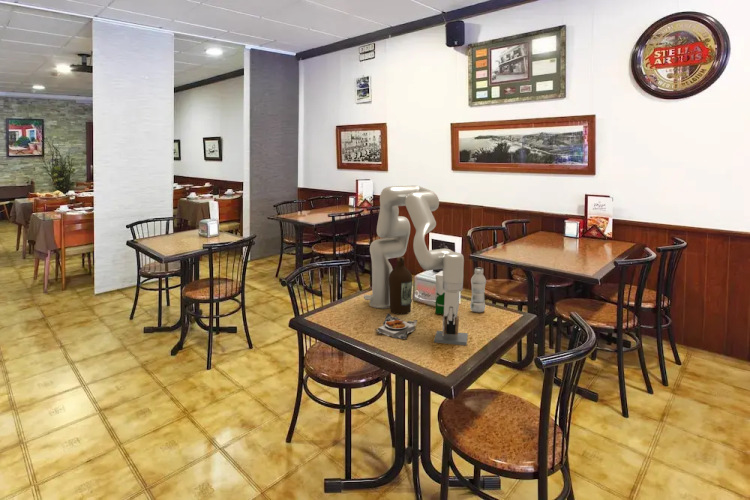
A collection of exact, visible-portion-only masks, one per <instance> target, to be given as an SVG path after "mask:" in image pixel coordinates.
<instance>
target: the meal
mask: <svg viewBox="0 0 750 500" xmlns="http://www.w3.org/2000/svg"><path fill="white" fill-rule="evenodd" d="M417 324H418V319H415V320H408V321H405V320H401V319H400V318H399V317H397V316H392V315H391V313H387V314H386V317H385V319H384V321H383V324H382V325H381V326H379V327H378V329H374V330H375V332H376V333H377V334H380V335H381V334H383V335H385V336H386V337H392V338H393V339H394V338H395V339H397V338H398V339H402V340H406V339H407V338H408V334H410V333H413V332H414V331H415V330H416V325H417Z"/></svg>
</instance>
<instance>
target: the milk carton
mask: <svg viewBox="0 0 750 500" xmlns="http://www.w3.org/2000/svg"><path fill="white" fill-rule="evenodd" d="M444 298H445V291H444V290H443V270H440V271H439V272H437V273H436V274H435V303H434V305H435V311H434V312H435V314H438V315H443V316H444Z"/></svg>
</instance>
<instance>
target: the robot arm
mask: <svg viewBox="0 0 750 500" xmlns="http://www.w3.org/2000/svg"><path fill="white" fill-rule="evenodd" d="M379 203H380V204H379V211H378V220H377V223H376V224H377V225H376V234H377V236H378V239H375V240H373V241H372V242H371V243H370V244H369V245H370V246H369V254H370V259H371V273H372V275H371V277H372V281H371V284H372V285H371V287H372V290H371V291H372V292H371V293H372V294H363V295H364V296H363V299H364V300H365V301H369V304H368V305H369V307H371V308H375V309H383V310H384V309H390V294H389V275H390V273H391V271H392V270H393V266H392V264H391V263H390V261H389V259H390V260H391V259H395V258H396V259H397V257H404V255H405V253H407V247H408V243H409V238H410V235H411V223H410V221H409V219H408V218H407V217H406V216H402V215H401V216H400V215H399V212H400V209H399V207H404V206H405V207H406V210H407V212H408V214H409V217H410V219H411V221H412V224H413V226H414V229H415V235H414V237H413V243H412V244H413V245H412V246H413V253H414V256H415V258H416V260H417V262H418V264H419V266H420V267H421V268H422V269H423V270H424V271H435V270H439V269H442V271H443V290H444V291H445V298H444V315H443V316H444V317H445V316H447V315H448V319H447V334H453V335H455V326H456V324H455V317H457V316H458V312H459V307H460V292H462V291H463V290H464V267H465V266H464V265H465V259H464V257H465V256H464V255H463V254H462V253H461V252H455V251H453V250H451V249H449V248H445V247H444V248H439V249H429V250H428V247H427V245H426V241H425V236H426V235H427V234H428V233H430V232H432V231H433V230H434V229H435V228H436V226H437V221H436V219H435V216H434V214H433V212H435V211H436V210H438V209H439V205H440V199H439V196H438V195H437V194H436V193H435V191H432V190H430V189H427V188H424V187H422V186H420V185H396V186H393V185H392V186H386V187H384V188H383V189H382V190H381V191H380V195H379ZM452 318H454V319H452Z"/></svg>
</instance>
